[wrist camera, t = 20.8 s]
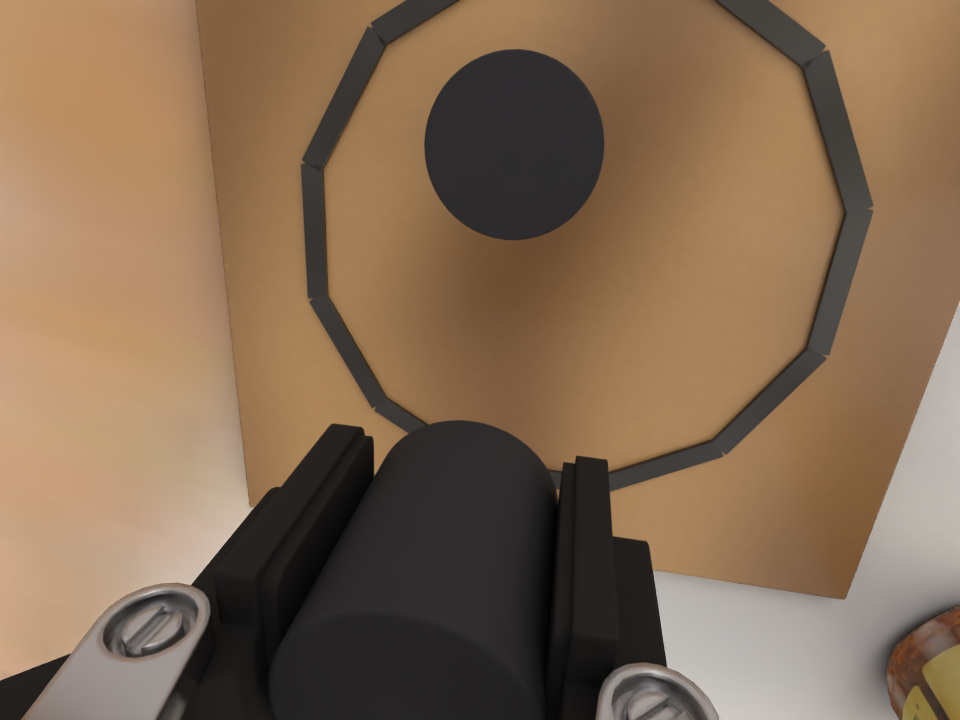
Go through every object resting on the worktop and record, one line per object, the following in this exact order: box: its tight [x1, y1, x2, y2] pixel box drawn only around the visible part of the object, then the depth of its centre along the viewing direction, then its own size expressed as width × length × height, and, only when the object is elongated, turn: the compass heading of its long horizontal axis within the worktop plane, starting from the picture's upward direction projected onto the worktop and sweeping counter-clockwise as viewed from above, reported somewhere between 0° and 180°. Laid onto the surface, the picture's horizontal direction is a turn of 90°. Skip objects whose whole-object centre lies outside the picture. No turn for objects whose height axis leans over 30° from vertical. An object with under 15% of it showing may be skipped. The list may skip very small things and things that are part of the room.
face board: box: [196, 0, 960, 600], centre depth 17 cm, size 20×20×1 cm
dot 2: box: [424, 49, 605, 240], centre depth 14 cm, size 3×3×4 cm
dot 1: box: [268, 420, 558, 720], centre depth 9 cm, size 3×3×4 cm
